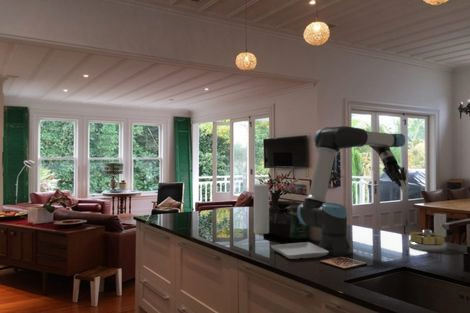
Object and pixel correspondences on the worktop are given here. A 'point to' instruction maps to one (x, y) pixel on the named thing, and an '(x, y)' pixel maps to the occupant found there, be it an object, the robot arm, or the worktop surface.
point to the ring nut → (436, 236)
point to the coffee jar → (297, 225)
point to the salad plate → (300, 250)
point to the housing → (427, 246)
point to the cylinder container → (261, 209)
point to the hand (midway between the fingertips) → (404, 190)
